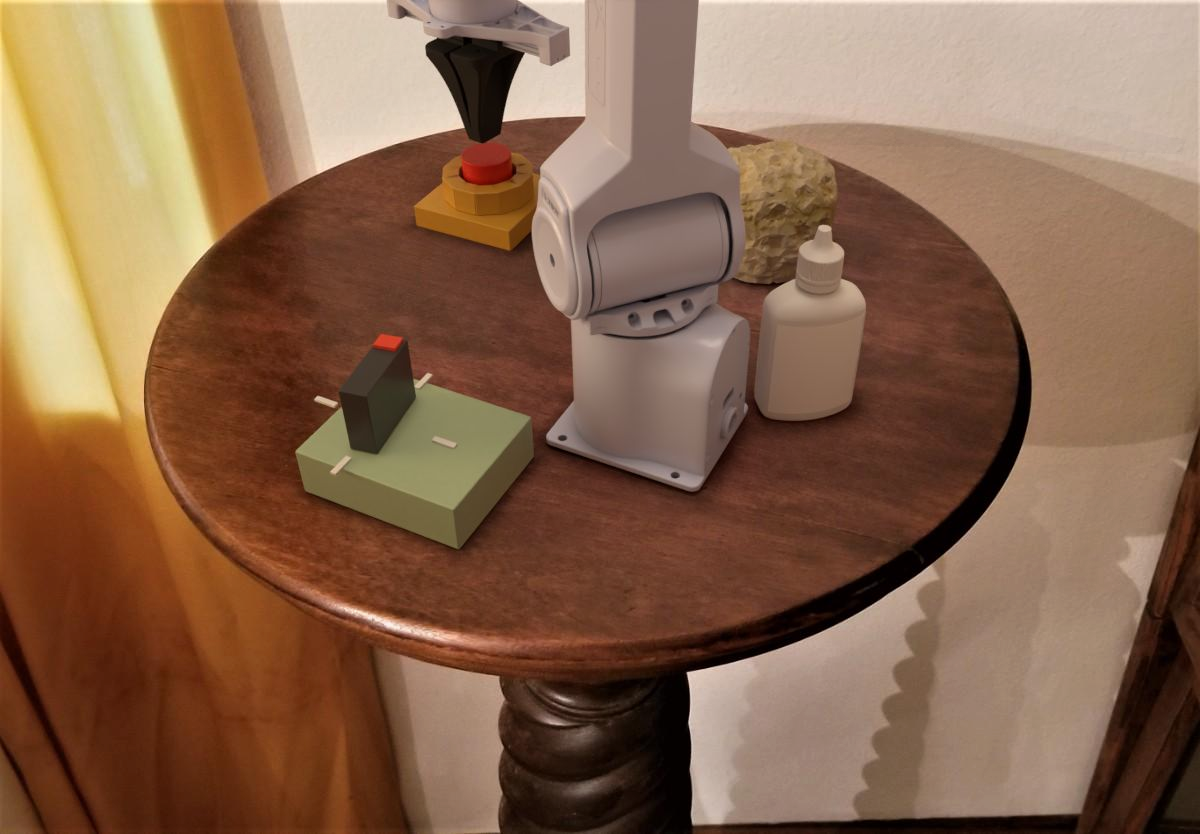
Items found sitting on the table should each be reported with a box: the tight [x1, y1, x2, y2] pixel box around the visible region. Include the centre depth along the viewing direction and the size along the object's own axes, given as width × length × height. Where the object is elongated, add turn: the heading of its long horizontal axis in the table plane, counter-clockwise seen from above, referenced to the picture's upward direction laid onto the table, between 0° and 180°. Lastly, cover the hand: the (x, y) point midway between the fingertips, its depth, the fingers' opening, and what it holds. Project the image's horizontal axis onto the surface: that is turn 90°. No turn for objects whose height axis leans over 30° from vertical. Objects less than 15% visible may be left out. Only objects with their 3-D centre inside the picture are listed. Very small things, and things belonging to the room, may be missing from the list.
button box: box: [413, 151, 541, 252], centre depth 84 cm, size 8×8×4 cm
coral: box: [727, 138, 839, 285], centre depth 78 cm, size 9×9×8 cm
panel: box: [295, 372, 535, 550], centre depth 63 cm, size 12×9×3 cm
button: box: [460, 142, 513, 185], centre depth 83 cm, size 4×4×2 cm
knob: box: [338, 333, 416, 454], centre depth 61 cm, size 5×2×4 cm, turn 163°
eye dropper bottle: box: [753, 225, 867, 422], centre depth 64 cm, size 4×6×12 cm
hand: (484, 136), depth 81 cm, fingers closed
